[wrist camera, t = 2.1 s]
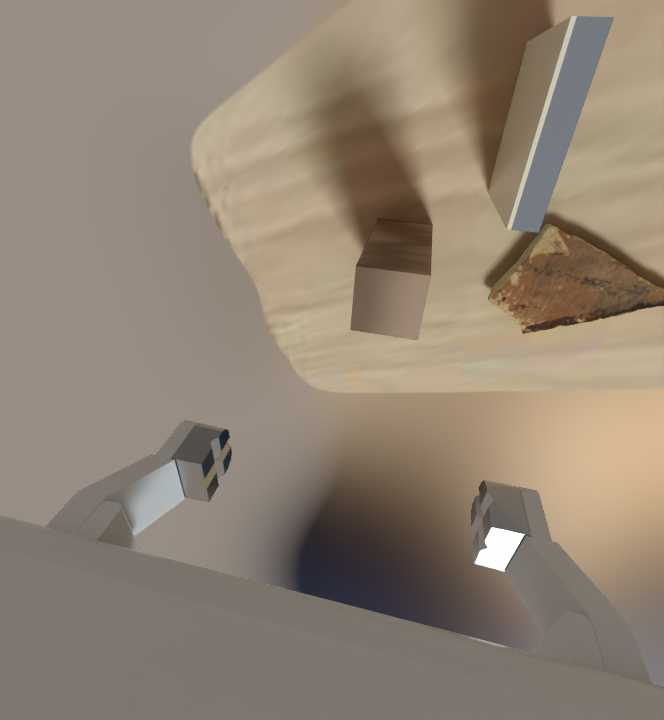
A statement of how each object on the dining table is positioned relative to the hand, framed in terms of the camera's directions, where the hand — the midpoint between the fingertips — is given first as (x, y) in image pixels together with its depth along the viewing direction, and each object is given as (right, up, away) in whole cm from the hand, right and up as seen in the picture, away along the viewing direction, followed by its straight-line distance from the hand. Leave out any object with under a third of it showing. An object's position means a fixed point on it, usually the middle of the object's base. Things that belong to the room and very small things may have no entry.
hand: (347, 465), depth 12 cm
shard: (+17, +10, +16) cm, 26 cm away
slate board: (+11, +18, +12) cm, 24 cm away
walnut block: (+5, +12, +17) cm, 22 cm away
